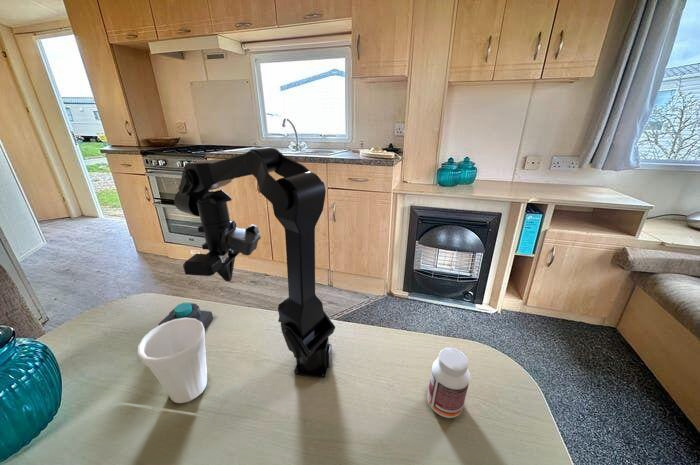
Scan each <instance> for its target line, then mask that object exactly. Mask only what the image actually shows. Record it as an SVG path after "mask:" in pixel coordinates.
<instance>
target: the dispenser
mask: <svg viewBox="0 0 700 465" xmlns="http://www.w3.org/2000/svg"><path fill="white" fill-rule="evenodd" d="M189 303H190V304H191V306H192V310H193V311H192V313H191V314H189V315H187V316H186V317H181V318H195V319H197V320H199V321H200V322H202V324H203V326H204V329H206V328H207V326H208V325H209V324H210V323H211V322H212V321H213V319H214V315H213V312H212V311H210V310H201V307H200V305H198V304H197V303H192V302H189ZM174 319H180V318H178V317H176V315H175V311H174V308H173V309H171V311H170V312H169V313H168V315H166V316H165V317H164V318H163V319H162V320H161V321H160V322H159V323H157V324H158V325H157V326H159V325H161V324H163V323H166V322H168V321H171V320H174Z"/></svg>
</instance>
